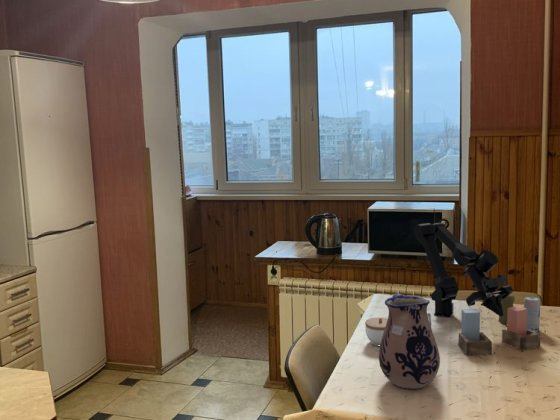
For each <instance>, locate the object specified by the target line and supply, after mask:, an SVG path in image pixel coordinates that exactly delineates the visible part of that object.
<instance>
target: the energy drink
mask: <svg viewBox="0 0 560 420" xmlns="http://www.w3.org/2000/svg"><path fill="white" fill-rule="evenodd" d="M523 308H526V309H527V329H529V330H532V331H535V332H539V331H540V324H541V323H540V322H541V321H540V318H541V317H540V316H541V298H539V297H538V296H537V297H536V296H525V297H524V300H523Z"/></svg>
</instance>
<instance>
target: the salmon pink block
mask: <svg viewBox="0 0 560 420" xmlns="http://www.w3.org/2000/svg"><path fill="white" fill-rule="evenodd" d="M506 330H508V331H510V332H513V333H516V334H519V335H521V336H524V335H527V309H526V308H524V306H520V305H516V306H513V307H510V308H507V324H506Z"/></svg>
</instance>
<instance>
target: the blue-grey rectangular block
mask: <svg viewBox="0 0 560 420" xmlns="http://www.w3.org/2000/svg"><path fill="white" fill-rule="evenodd" d="M460 324H461V332H460V333H463V334H464V336H465V337H466V338H467V339H468V340H469V341H478V340H480V332H481V312H480V310H478V309H477V308H462V309H461V323H460Z"/></svg>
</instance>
